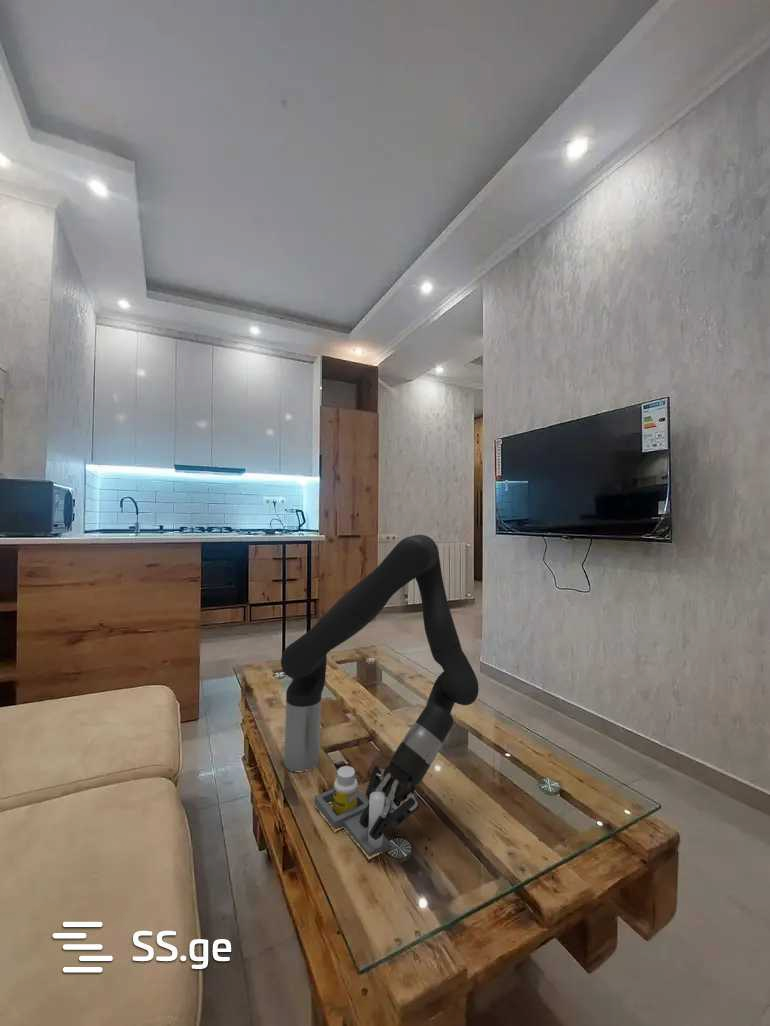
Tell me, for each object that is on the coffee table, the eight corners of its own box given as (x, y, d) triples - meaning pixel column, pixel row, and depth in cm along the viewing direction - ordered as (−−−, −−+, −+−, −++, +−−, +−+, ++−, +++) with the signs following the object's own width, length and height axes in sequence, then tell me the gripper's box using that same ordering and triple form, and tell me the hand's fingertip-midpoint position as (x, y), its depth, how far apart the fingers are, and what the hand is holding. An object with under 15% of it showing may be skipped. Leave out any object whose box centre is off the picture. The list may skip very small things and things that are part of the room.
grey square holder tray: (314, 806, 98) (316, 759, 98) (349, 791, 104) (351, 746, 103) (359, 866, 83) (361, 810, 82) (398, 844, 88) (400, 792, 88)
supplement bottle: (327, 812, 97) (329, 770, 97) (346, 802, 100) (348, 760, 100) (342, 826, 93) (343, 782, 93) (361, 815, 96) (363, 772, 96)
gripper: (387, 728, 96) (338, 802, 89) (430, 760, 85) (377, 848, 78) (405, 744, 99) (359, 817, 93) (448, 777, 88) (399, 863, 81)
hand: (367, 831), depth 85 cm, fingers closed on grey square holder tray, 3 cm apart
